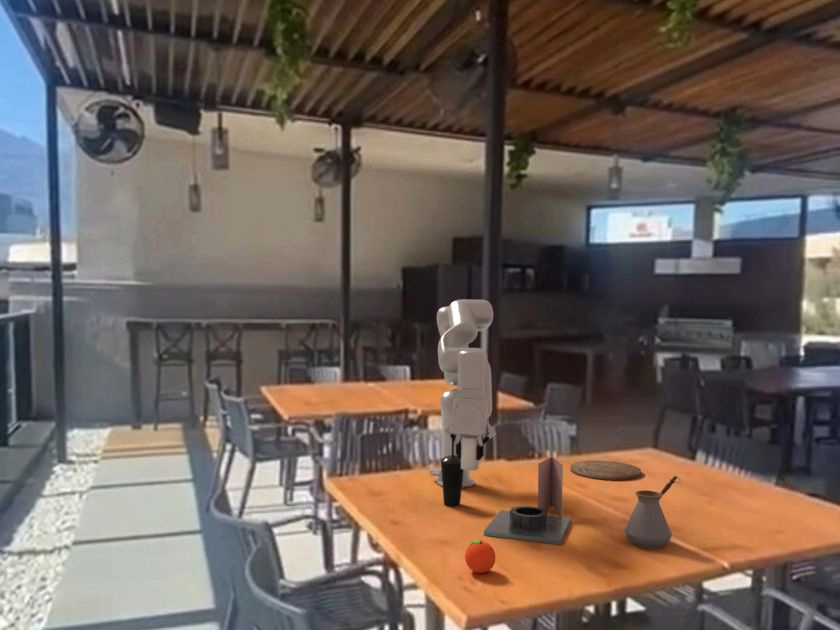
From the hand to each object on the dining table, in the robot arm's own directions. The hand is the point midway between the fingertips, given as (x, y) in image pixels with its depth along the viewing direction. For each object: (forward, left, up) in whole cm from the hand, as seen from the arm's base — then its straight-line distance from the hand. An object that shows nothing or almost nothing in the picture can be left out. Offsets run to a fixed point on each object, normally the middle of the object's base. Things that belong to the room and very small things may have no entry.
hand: (469, 457), depth 198 cm
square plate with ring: (+17, -2, -17) cm, 25 cm away
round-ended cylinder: (0, 0, -3) cm, 3 cm away
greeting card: (+21, +16, -18) cm, 32 cm away
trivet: (+31, +73, -18) cm, 82 cm away
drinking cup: (-9, +12, -18) cm, 23 cm away
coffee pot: (+50, +2, -18) cm, 53 cm away
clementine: (+12, -37, -18) cm, 43 cm away
